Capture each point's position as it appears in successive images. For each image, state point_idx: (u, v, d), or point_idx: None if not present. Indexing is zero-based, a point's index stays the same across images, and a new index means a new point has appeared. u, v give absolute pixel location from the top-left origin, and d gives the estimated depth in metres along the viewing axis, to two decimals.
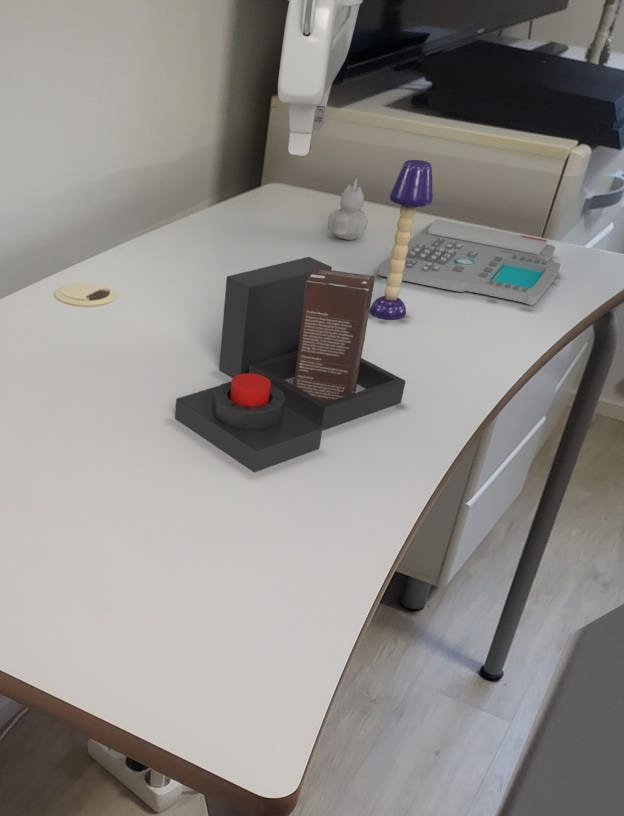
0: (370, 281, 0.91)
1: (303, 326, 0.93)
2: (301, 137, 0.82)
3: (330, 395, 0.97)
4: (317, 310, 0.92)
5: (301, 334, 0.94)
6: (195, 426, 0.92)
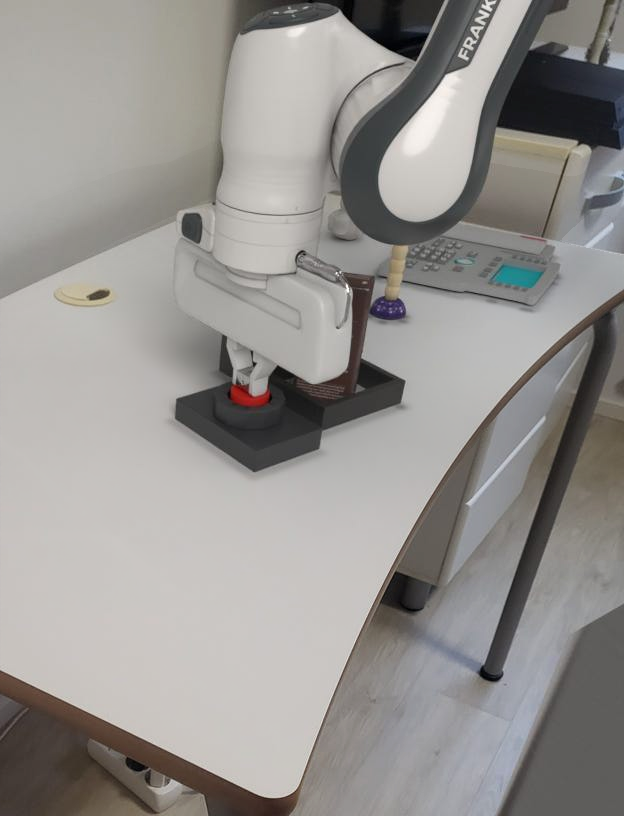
0: (370, 281, 0.91)
1: None
2: (261, 381, 0.88)
3: (330, 395, 0.97)
4: None
5: None
6: (195, 426, 0.92)
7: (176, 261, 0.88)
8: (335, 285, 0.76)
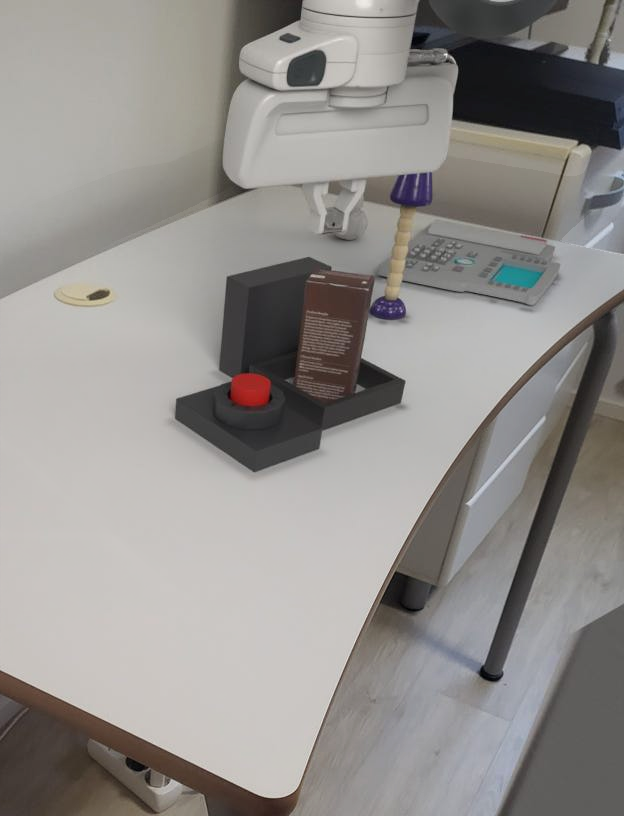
0: (370, 281, 0.91)
1: (303, 326, 0.93)
2: None
3: (330, 395, 0.97)
4: (317, 310, 0.92)
5: (301, 334, 0.94)
6: (195, 426, 0.92)
7: (258, 128, 0.76)
8: (446, 65, 0.80)
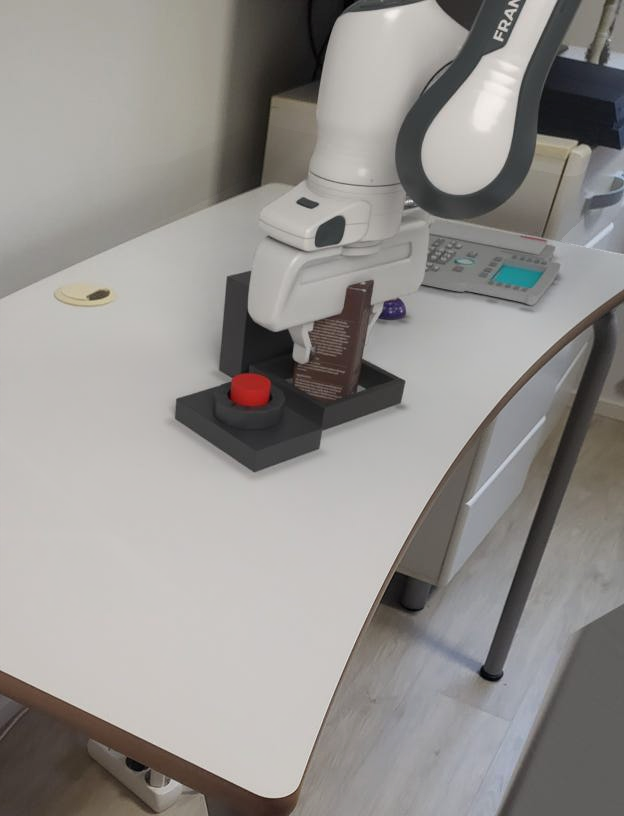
0: (369, 282, 0.91)
1: None
2: None
3: (327, 395, 0.97)
4: None
5: None
6: (195, 426, 0.92)
7: (289, 283, 0.85)
8: None
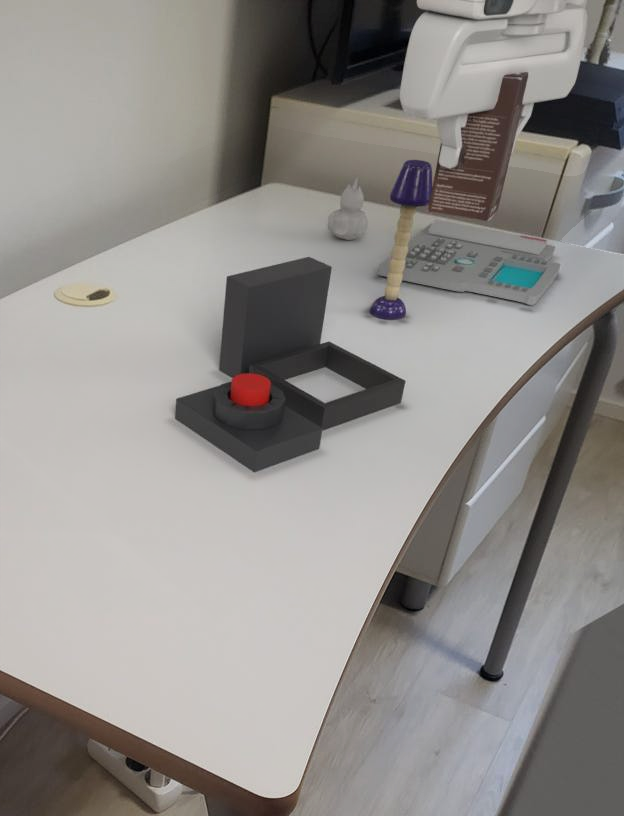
0: (524, 73, 0.85)
1: None
2: None
3: (469, 207, 0.91)
4: None
5: None
6: (195, 426, 0.92)
7: (452, 58, 0.79)
8: None
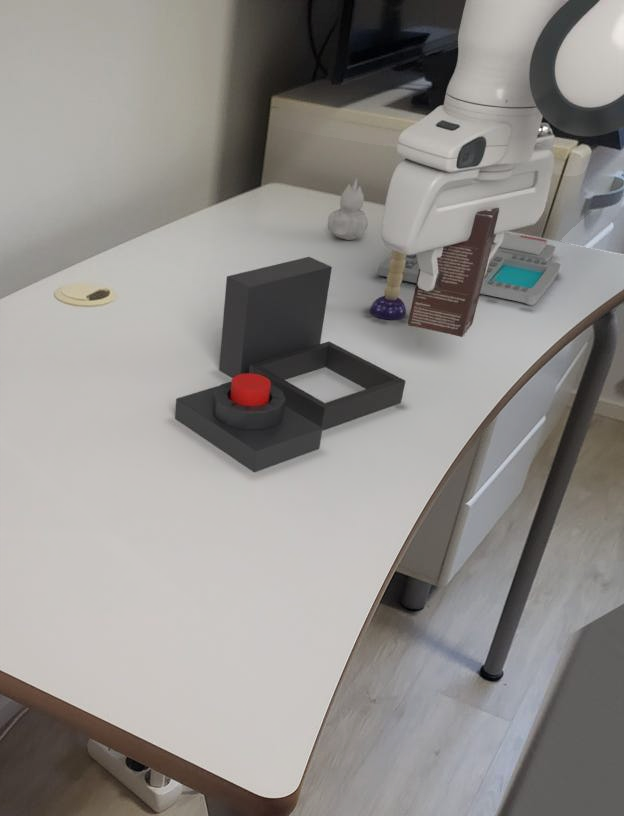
0: (495, 209, 0.93)
1: None
2: None
3: (445, 323, 0.99)
4: None
5: None
6: (195, 426, 0.92)
7: (427, 204, 0.87)
8: (547, 136, 0.94)
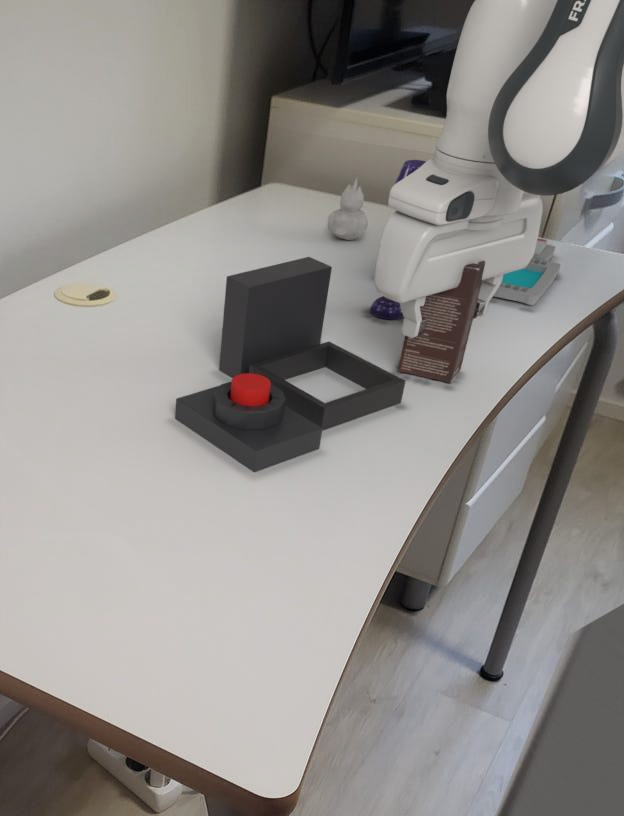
0: (482, 262, 0.96)
1: None
2: None
3: (434, 370, 1.02)
4: None
5: None
6: (195, 426, 0.92)
7: (418, 255, 0.89)
8: None
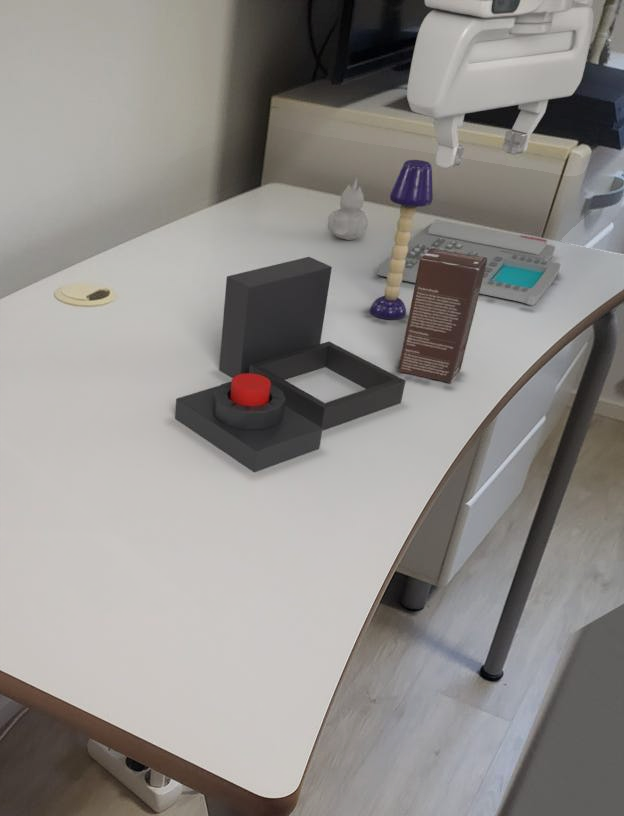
0: (482, 262, 0.96)
1: (414, 302, 0.99)
2: None
3: (434, 370, 1.02)
4: (428, 287, 0.97)
5: (411, 309, 0.99)
6: (195, 426, 0.92)
7: (459, 56, 0.79)
8: None
